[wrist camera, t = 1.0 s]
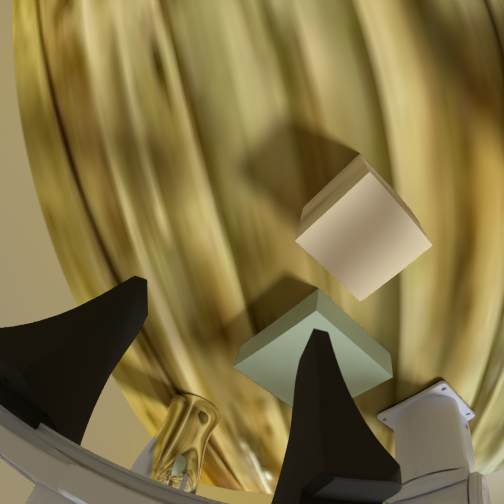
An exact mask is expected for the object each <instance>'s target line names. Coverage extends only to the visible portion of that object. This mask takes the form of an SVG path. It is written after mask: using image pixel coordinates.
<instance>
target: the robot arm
mask: <svg viewBox="0 0 504 504" xmlns="http://www.w3.org/2000/svg"><path fill="white" fill-rule="evenodd" d="M147 315H148V300H147V280H146V279H143V278H140V277H137V276H133V277H132V278H130V279H128V280H126V281H125V282H123V283H121V284H119V285H118V286H116V287H114V288H112V289H111V290H109V291H107V292H105V293H104V294H102V295H100V296H98V297H96V298H94V299H92V300H90V301H88V302H86V303H84V304H82V305H80V306H78V307H76V308H74V309H72V310H69V311H67V312H64V313H62V314H59V315H56V316H53V317H50V318H47V319H44V320H40V321H37V322H33V323H29V324H24V325H19V326H13V327H4V328H0V458H1V459H3V460H4V461H5V462H6V463H8V464H9V465H10V466H11V467H13V468H14V469H15V470H17V471H18V472H19V473H21V474H22V475H23V476H25V477H26V478H27V479H29V480H30V481H32V482H33V483H34V484H36V485H35V487H34V489H33V491H32V493H31V494H30V496H29V498H28V500H27V502H26V504H227V503H223V502H219V501H216V500H212V499H208V498H205V497H202V496H198V495H195V494H192V493H189V492H186V491H183V490H180V489H177V488H174V487H171V486H168V485H165V484H163V483H160V482H157V481H155V480H152V479H150V478H147V477H145V476H142V475H140V474H137V473H135V472H133V471H130V470H128V469H126V468H124V467H121V466H119V465H117V464H115V463H113V462H111V461H109V460H106V459H104V458H102V457H100V456H98V455H96V454H94V453H93V452H90V451H89V450H87V449H85V448H83V447H81V446H80V444H81V441H82V438H83V435H84V433H85V430H86V427H87V424H88V422H89V419H90V417H91V414H92V412H93V409H94V407H95V405H96V403H97V400H98V398H99V396H100V394H101V392H102V390H103V388H104V386H105V384H106V382H107V380H108V378H109V376H110V374H111V373H112V371H113V369H114V368H115V366H116V365H117V363H118V362H119V361H120V359H121V358H122V356H123V355H124V353H125V352H126V350H127V349H128V348H129V346H130V345H131V343H132V342H133V340H134V339H135V337H136V336H137V334H138V333H139V331H140V329H141V327H142V325H143V323H144V321H145V319H146V317H147ZM474 416H475V414H474V412H473V411H472V410H471V409H470V407H469V406H468V405H467V404H466V403H465V402H464V401H463V400H462V399H461V397H460V396H459V395H458V394H457V393H456V392H455V391H454V390H453V389H452V388H451V387H450V386H449V384H448V383H447V382H446V381H440V382H438V383H436V384H434V385H433V386H431V387H429V388H427V389H426V390H424V391H422V392H420V393H418V394H417V395H415V396H413V397H411V398H409V399H407V400H405V401H403V402H401V403H399V404H397V405H395V406H393V407H391V408H389V409H387V410H385V411H383V412H381V413H379V414H378V415H377V419H378V420H380V421H381V422H383V423H384V424H386V425H387V426H388V427H390V428H391V429H393V430H394V439H395V459H394V458H393V457H392V456H391V455H390V454H389V453H388V452H387V451H386V449H385V448H384V447H383V446H382V445H381V443H380V442H379V441H378V439H377V438H376V437H375V435H374V434H373V432H372V431H371V429H370V428H369V427H368V425H367V424H366V422H365V421H364V419H363V417H362V415H361V414H360V412H359V410H358V408H357V406H356V405H355V403H354V401H353V399H352V397H351V394H350V392H349V390H348V388H347V385H346V383H345V381H344V378H343V376H342V373H341V370H340V367H339V365H338V362H337V359H336V356H335V353H334V349H333V346H332V343H331V339H330V335H329V333H328V332H327V331H323V330H319V329H315V328H314V329H313V331H312V333H311V335H310V338H309V340H308V342H307V344H306V347H305V349H304V351H303V353H302V355H301V357H300V360H299V364H298V369H297V374H296V379H295V387H294V398H293V409H292V420H291V429H290V435H289V440H288V444H287V449H286V453H285V457H284V461H283V465H282V469H281V473H280V476H279V480H278V484H277V487H276V491H275V494H274V497H273V500H272V503H271V504H382V502H383V501H385V500H387V499H388V501H386V502H384V503H383V504H490V496H489V490H488V486H487V482H486V479H485V477H484V475H482V474H479V473H478V472H474V473H473V471H474V467H475V457H474V451H473V445H472V439H471V434H470V429H469V424H468V420H470V419H472V418H473V417H474ZM77 464H78V465H77Z"/></svg>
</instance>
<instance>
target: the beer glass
mask: <svg viewBox="0 0 504 504" xmlns="http://www.w3.org/2000/svg"><path fill="white" fill-rule="evenodd" d="M219 420H220V413H219V411H218V409H217V408H216V407H215V406H214V405H213V404H211V403H210V402H209V401H207V400H205V399H203V398H201V397H198V396H196V395H192V394H185V393H181V394H176V395H174V396H173V397H172V399H171V401H170V405H169V409H168V413H167V416H166V418H165V421H164V423H163V424H162V426H161V428H160V429H159V430H158V432H157V433H156V434H155V436H154V437H153V438H152V439H151V441H150V442H149V443H148V444H147V446H146V447H145V448H144V450H143V451H142V452H141V453H140V455H139V456H138V458H137V459H136V461H135V462H134V464H133V466H132V468H131V469H130V471H133V472H135V473H137V474H140V475H142V476H145V477H147V478H150V479H152V480H155V481H157V482H160V483H163V484H165V485H168V486H171V487H174V488H177V489H180V490H183V491H186V492H189V493H192V494H195V495H196V492H197V489H198V486H199V482H200V477H201V472H202V466H203V460H204V454H205V449H206V445H207V442H208V439H209V437H210V435H211V433H212V432H213V430H214V429H215V427H216V426H217V424H218V422H219Z"/></svg>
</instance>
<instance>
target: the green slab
mask: <svg viewBox="0 0 504 504" xmlns="http://www.w3.org/2000/svg"><path fill="white" fill-rule="evenodd" d="M314 328H315V329H319V330H323V331H327V332H328V333H329V335H330V339H331V343H332V346H333V349H334V353H335V356H336V359H337V362H338V365H339V367H340V370H341V373H342V376H343V378H344V381H345V383H346V385H347V388H348V390H349V392H350V394H351V397H352V398H354V397H356V396H358V395H360V394H362V393H364V392H366V391H368V390H370V389H372V388H373V387H375V386H377V385H379V384H381V383H383V382H385V381H386V380H388V379H390V378H392V377H393V373H392V364H391V356H390V353H389V352H388V351H387V350H386V349H385V348H383V347H382V346H381V345H380V344H379V343H378V342H377V341H376V340H375V339H374V338H373V337H372V336H370V335H369V334H368V333H367V332H366V331H365V330H364V329H363V328H362V327H361V326H360V325H359V324H357V323H356V322H355V321H354V320H353V319H352V318H351V317H350V316H349V315H348V314H347V313H345V312H344V311H343V310H342V309H341V308H340V307H339V306H338V305H337V304H336V303H334V302H333V301H332V300H331V299H330V298H329V297H328V296H327V295H326V294H325V293H323V292H322V291H321V290H320V289H319V288H318V289H317V290H315V291H314V292H313V293H312V294H310V295H309V296H308V297H306V298H305V299H304V300H303V301H301V302H300V303H299V304H297V305H296V306H295V307H293V308H292V309H291V310H289V311H288V312H287V313H285V314H284V315H283V316H281V317H280V318H279V319H277V320H276V321H275V322H273V323H272V324H270V325H269V326H268V327H266V328H265V329H264V330H262V331H261V332H259V333H258V334H257V335H255V336H254V337H252V338H251V339H250V340H248V341H247V342H245V343H244V344H243V345H241V347H240V350H239V353H238V355H237V358H236V361H235V363H234V366H233V367H234V368H235V369H237V370H238V371H240V372H241V373H242V374H244V375H245V376H247V377H248V378H249V379H251V380H252V381H254V382H255V383H257V384H258V385H260V386H261V387H262V388H264V389H265V390H267V391H268V392H270V393H271V394H273V395H274V396H276V397H277V398H279V399H280V400H282V401H283V402H285V403H286V404H288V405H289V406H291V407H293V398H294V387H295V379H296V374H297V369H298V364H299V360H300V357H301V355H302V353H303V351H304V349H305V347H306V344H307V342H308V340H309V338H310V335H311V333H312V331H313V329H314Z"/></svg>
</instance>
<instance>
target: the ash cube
mask: <svg viewBox="0 0 504 504" xmlns="http://www.w3.org/2000/svg"><path fill="white" fill-rule="evenodd" d="M295 241H296V242H297V243H298V244H299V245H300V246H301V247H302V248H304V249H305V250H306V251H307V252H308V253H309V254H310V255H311V256H312V257H313V258H314V259H315V260H316V261H318V262H319V263H320V264H321V265H322V266H323V267H324V268H325V269H326V270H327V271H328V272H329V273H330V274H331V275H332V276H333V277H335V278H336V279H337V280H338V281H339V282H340V283H341V284H342V285H343V286H344V287H345V288H346V289H347V290H348V291H349V292H350V293H351V294H352V295H353V296H354V297H356V298H357V299H358V300H359V301H362V300H363V299H365V298H366V297H367V296H369V295H370V294H371V293H373V292H374V291H375V290H377V289H378V288H379V287H381V286H382V285H383V284H385V283H386V282H387V281H389V280H390V279H391V278H392V277H394V276H395V275H396V274H398V273H399V272H400V271H401V270H403V269H404V268H405V267H406V266H408V265H409V264H410V263H411V262H413V261H414V260H415V259H416V258H418V257H419V256H420V255H421V254H423V253H424V252H425V251H426V250H427V249H429V248H430V247H431V246H432V243H431V242H430V240H429V238H428V237H427V235H426V233H425V232H424V230H423V228H422V227H421V225H420V223H419V222H418V220H417V218H416V217H415V215H414V214H413V212H412V211H411V209H410V208H409V207H408V206H407V205H406V204H405V202H404V201H403V200H402V199H401V198H400V196H399V195H398V194H397V193H396V192H395V191H394V190H393V188H392V187H391V186H390V185H389V184H388V183H387V182H386V181H385V180H384V178H383V177H382V176H381V175H380V174H379V173H378V172H377V171H376V170H375V169H374V168H373V166H372V165H371V164H370V163H369V162H368V161H367V160H366V159H365V158H364V157H363V156H362V155H361V154H360V153H359V154H358V155H357V156H356V157H355V158H354V159H353V160H352V161H351V162H350V163H349V164H348V165H347V166H346V167H345V168H344V169H343V170H342V171H341V172H340V173H339V174H338V175H337V176H335V177H334V178H333V179H332V180H331V181H330V182H329V183H328V184H327V185H326V186H325V187H324V188H323V189H322V190H321V191H320V192H319V193H318V194H317V195H316V196H315V197H314V198H312V199H311V200H310V201H309V202H308V203H307V204H306V205H305V206H304V207H303V210H302V214H301V218H300V222H299V226H298V230H297V234H296V238H295Z"/></svg>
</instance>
